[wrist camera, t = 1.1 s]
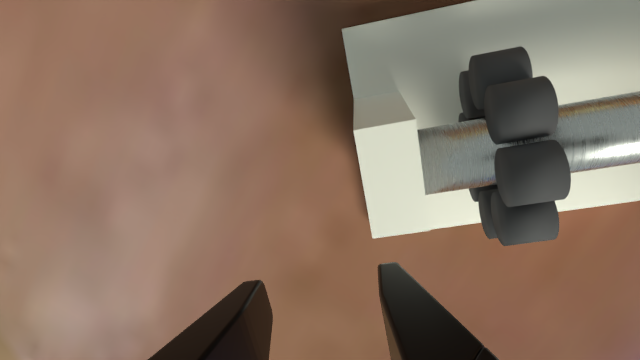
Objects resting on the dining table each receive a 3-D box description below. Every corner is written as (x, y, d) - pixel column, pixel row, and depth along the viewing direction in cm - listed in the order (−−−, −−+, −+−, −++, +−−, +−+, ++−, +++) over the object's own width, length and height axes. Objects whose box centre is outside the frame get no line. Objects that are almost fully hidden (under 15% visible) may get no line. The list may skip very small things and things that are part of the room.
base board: (868, -84, 16) (1193, -148, 10) (814, 165, 19) (1028, 234, 13) (342, 28, 18) (336, 33, 12) (376, 227, 22) (384, 307, 16)
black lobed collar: (489, 41, 17) (571, 54, 10) (498, 195, 19) (569, 283, 13) (451, 48, 17) (508, 66, 11) (464, 199, 19) (518, 288, 13)
